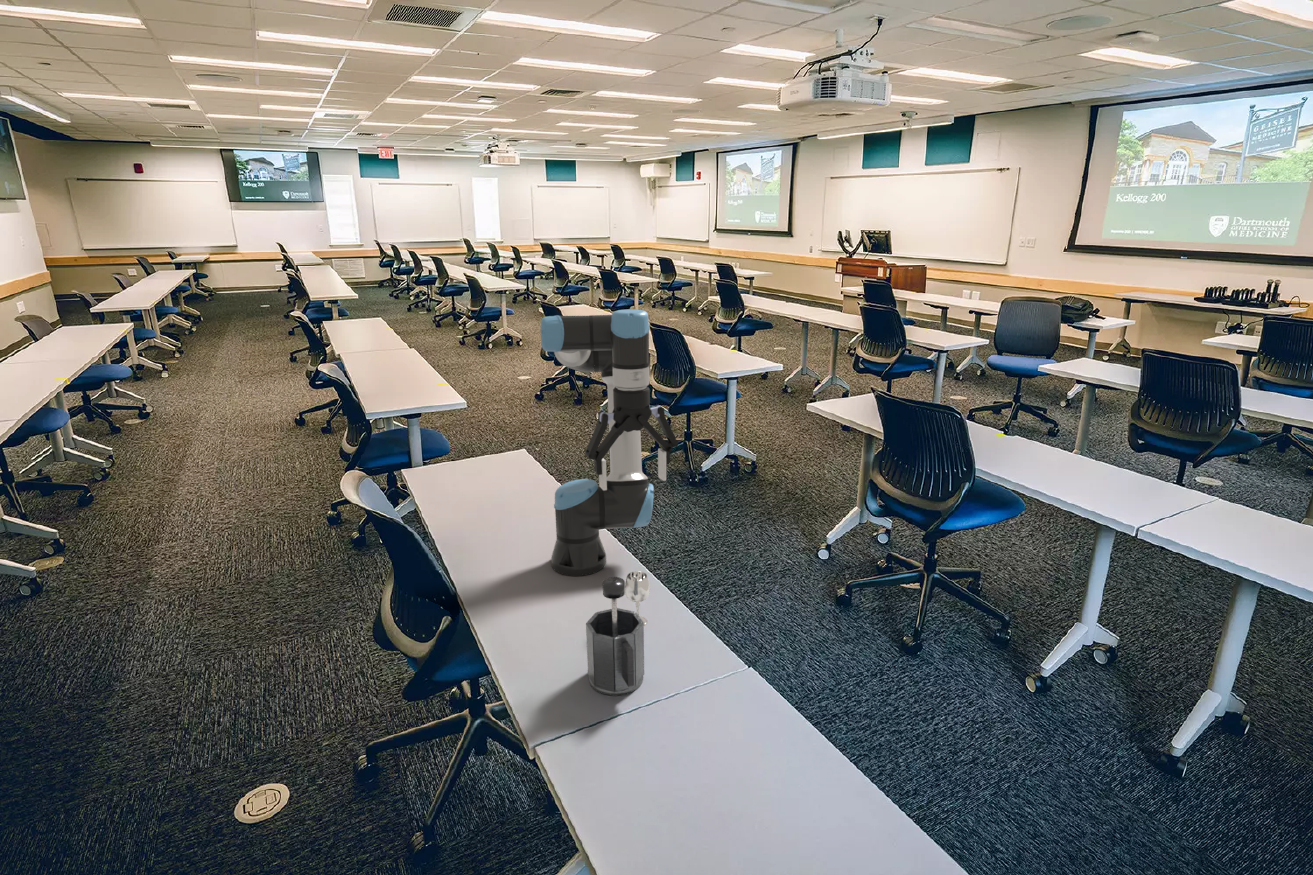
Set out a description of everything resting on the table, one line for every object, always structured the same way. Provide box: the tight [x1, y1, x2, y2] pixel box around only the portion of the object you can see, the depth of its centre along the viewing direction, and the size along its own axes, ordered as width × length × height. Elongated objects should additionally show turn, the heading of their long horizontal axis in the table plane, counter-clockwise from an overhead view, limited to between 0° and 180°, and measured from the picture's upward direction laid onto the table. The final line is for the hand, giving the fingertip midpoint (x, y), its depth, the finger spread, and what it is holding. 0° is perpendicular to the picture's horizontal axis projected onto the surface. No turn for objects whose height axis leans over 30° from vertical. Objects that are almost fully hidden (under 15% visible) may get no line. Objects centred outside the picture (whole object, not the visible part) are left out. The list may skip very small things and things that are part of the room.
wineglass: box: [625, 570, 651, 626], centre depth 161 cm, size 6×6×12 cm
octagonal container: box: [585, 607, 645, 697], centre depth 139 cm, size 14×11×13 cm
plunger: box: [601, 576, 626, 637], centre depth 139 cm, size 7×7×21 cm
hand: (633, 483), depth 147 cm, fingers open, 13 cm apart
